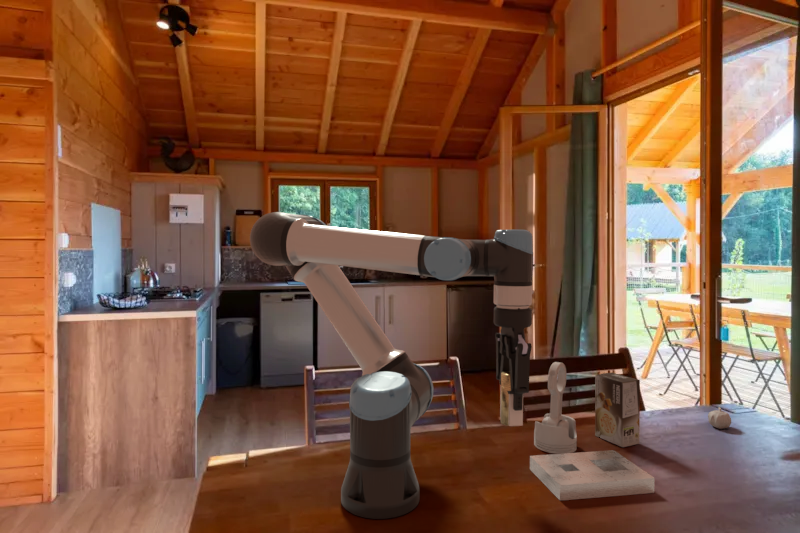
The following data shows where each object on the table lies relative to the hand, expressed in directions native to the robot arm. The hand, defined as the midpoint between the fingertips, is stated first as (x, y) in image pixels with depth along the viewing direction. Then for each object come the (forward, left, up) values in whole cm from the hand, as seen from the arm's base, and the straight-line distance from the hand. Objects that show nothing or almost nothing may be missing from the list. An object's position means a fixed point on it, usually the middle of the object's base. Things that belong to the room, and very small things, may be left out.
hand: (511, 420), depth 102 cm
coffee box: (+36, +20, -14) cm, 43 cm away
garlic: (+69, +24, -14) cm, 74 cm away
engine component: (+19, +19, -14) cm, 30 cm away
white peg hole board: (+17, 0, -13) cm, 22 cm away
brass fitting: (0, 0, 0) cm, 0 cm away
